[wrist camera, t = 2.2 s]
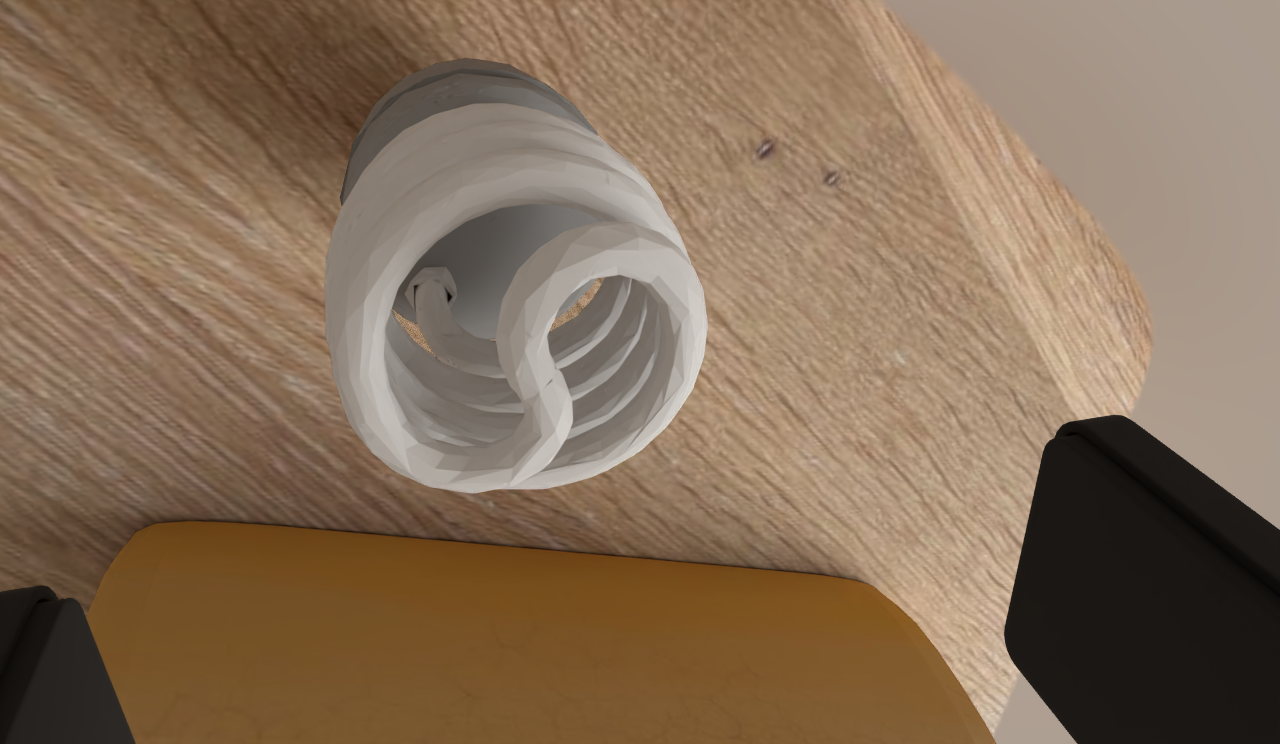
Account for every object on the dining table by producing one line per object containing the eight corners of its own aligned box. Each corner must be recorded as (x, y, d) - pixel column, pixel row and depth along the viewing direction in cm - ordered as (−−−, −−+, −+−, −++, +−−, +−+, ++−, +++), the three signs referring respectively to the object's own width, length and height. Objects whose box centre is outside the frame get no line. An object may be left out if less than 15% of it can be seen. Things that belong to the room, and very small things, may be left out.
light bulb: (422, -32, 21) (471, 88, 10) (624, 112, 23) (825, 322, 13) (295, 182, 22) (230, 472, 12) (499, 295, 25) (590, 612, 14)
